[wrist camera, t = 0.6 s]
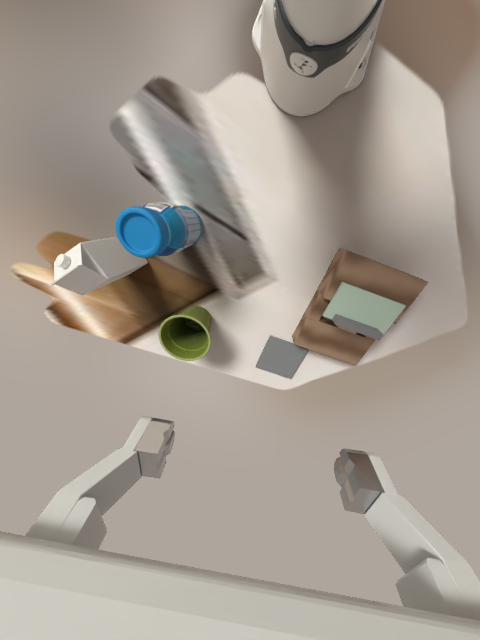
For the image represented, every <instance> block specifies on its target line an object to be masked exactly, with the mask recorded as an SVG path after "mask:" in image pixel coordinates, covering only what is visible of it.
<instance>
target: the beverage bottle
mask: <svg viewBox="0 0 480 640" xmlns="http://www.w3.org/2000/svg"><path fill="white" fill-rule="evenodd" d="M202 231H203V226H202V221H201V219H200V217H199V215H198V214H197V213H196V212H195V211H194V210H193V209H192V208H190V207H187V206H175V205H172V204H169V203H149V204H147V205H145V206H143V207H137V206H136V207H130V208H127V209H125V210H123V211H122V212H121V213H120V215H119V216H118V218H117V222H116V233H117V236H118V239H119V241H120V243H121V244H122V246H123V247H124V248H125V249H126V250H127V251H128V252H129V253H131V254H132V255H134V256H137V257H140V258H149V257H153V256H156V255H159V256H168V255H171V254H175V253H178V252H180V251H181V250H183V249H184V248H187V247H189V246H192V245H194V244H195V243H197V242H198V241H199V239H200V238H201V235H202Z"/></svg>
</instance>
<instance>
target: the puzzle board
mask: <svg viewBox="0 0 480 640" xmlns="http://www.w3.org/2000/svg"><path fill="white" fill-rule="evenodd" d="M341 282H345V283H347V284H350V285H353V286H355V287H358V288H361V289H363V290H366V291H369V292H372V293H374V294H377V295H380V296H382V297H385V298H388V299H391V300H393V301H396V302H399V303H401V304H404V305H406V307H405V308H404V309H403V311H402V312H401V313H400V314H399V316H398V317H397V318H396V320H395V321H394V322H393V323H394V324H396V323H397V321H398V320H399V319H400V318H401V316H402V315H403V314H404V312H405V311H406V310H407V309H408V307H409V306H410V305H411V304H412V302H413V301H414V300H415V299H416V297H417V296H418V295H419V293H420V292H421V291H422V290H423V288H424V287H425V286H426V285H427V283H428V282H427V281H424V280H422V279H419V278H417V277H415V276H412V275H410V274H407V273H404V272H402V271H399V270H396V269H394V268H391V267H389V266H386V265H383V264H381V263H378V262H375V261H373V260H370V259H368V258H365V257H362V256H360V255H357V254H354V253H352V252H349V251H347V250H344V249H341V248H339V250H338V252H337V254H336V256H335V257H334V259H333V261H332V263H331V265H330V267H329V269H328V270H327V272H326V274H325V276H324V278H323V280H322V282H321V283H320V285H319V287H318V289H317V291H316V293H315V295H314V296H313V298H312V300H311V302H310V304H309V306H308V308H307V309H306V311H305V313H304V315H303V317H302V319H301V321H300V323H299V324H298V326H297V328H296V330H295V332H294V334H293V336H292V337H293V342H294V344H295V345H298V346H301V347H303V348H306V349H309V350H312V351H315V352H318V353H321V354H324V355H327V356H330V357H332V358H335V359H338V360H341V361H344V362H347V363H350V364H353V365H356V364H357V363H358V362H359V360H360V359H361V358H362V356H363V355H364V354H365V353H366V351H367V350H368V349H369V347H370V346H371V345H372V343H373V342H374V341H375V339H374V338H371V337H368V336H366V335H363V334H360V333H356V334H354V333H351V332H348V331H346V330H343V329H340V328H338V327H337V326H336V325H335V323H334V322H333V320H332V319H329V318H326V317H324V316H323V313H324V312H325V310H326V308H327V306H328V305H329V303H330V301H331V300H332V298H333V296H334V294H335V293H336V291H337V289H338V288H339V286H340V284H341Z"/></svg>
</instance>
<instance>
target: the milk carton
mask: <svg viewBox="0 0 480 640" xmlns="http://www.w3.org/2000/svg"><path fill="white" fill-rule="evenodd" d="M147 263H148V261H147V260H146V258H140V257H137V256H134V255H132V254H131V253H129V252H128V251H127V250H126V249H125V248H124V247H123V246H122V244H121V243H120V241H119V239H118V237H114V238H107V239H101V240H94V241H87V242H82V243H79V244H78V245H76V246H75V247H74V248H72V249H71V250H69V251H68V252H67V253H65V254H60V255H59V256H58V257H57V259H56V261H55V262H54V282H52V283H51V284H50V285H49V286H51V285H54V284H56V285H59V286H61V287H64V288H66V289H69V290H71V291H73V292H76V293H78V294H81V295H85V294H87V293H89V292H91V291H94V290H96V289H98V288H100V287H103V286H105V285H107V284H109V283H112V282H114V281H116V280H118V279H120V278H123V277H125V276H127V275H129V274H131V273H132V272H134V271H136V270H137V269H139V268H141V267H142V266H144V265H146V264H147Z"/></svg>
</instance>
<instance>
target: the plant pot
mask: <svg viewBox="0 0 480 640" xmlns="http://www.w3.org/2000/svg"><path fill="white" fill-rule="evenodd" d="M188 318H189V319H188ZM210 322H211V318H210V315H209V313H208V312H207V311H206V310H205V309H204V308H202V307H200V306H192V307H190V308H188V309H187V310H185V311H184V312H182V313H180V314H179V315H174V316H171V317H169V318H167V319H166V320H165V321H164V322H163V323H162V324H161V326H160V328H159V340H160V343H161V345H162V346H163V348H164V349H165V350H166V351H167V352H168V353H169V354H170V355H172V356H173V357H175V358H177V359H180V360H185V361H193V360H197V359H200V358H202V357H203V356H204V355H206V353H207V352H208V351H209V349H210V345H211V338H210V334H209V330H210ZM194 326H197V327H199V328H196V327H194Z"/></svg>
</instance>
